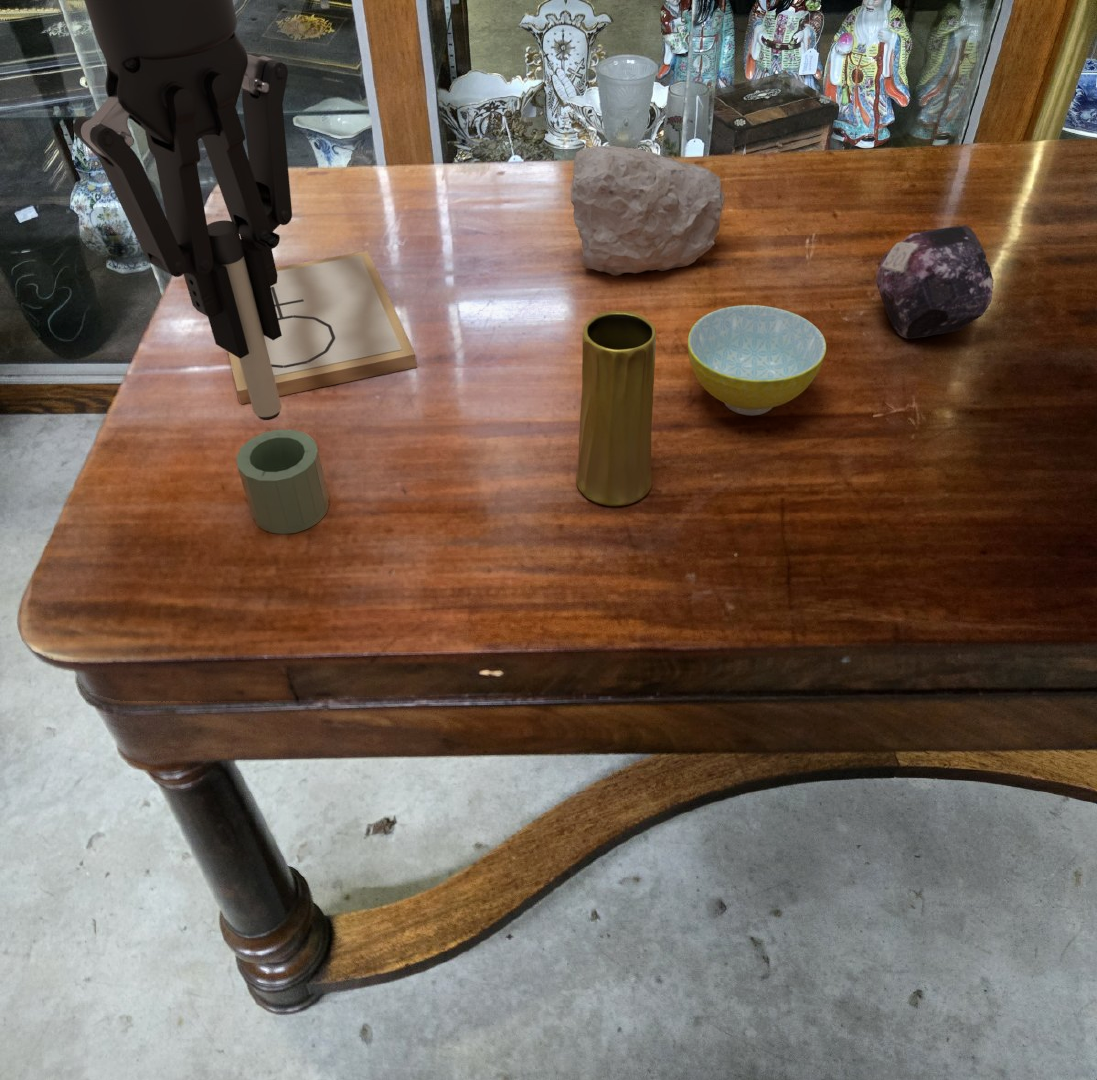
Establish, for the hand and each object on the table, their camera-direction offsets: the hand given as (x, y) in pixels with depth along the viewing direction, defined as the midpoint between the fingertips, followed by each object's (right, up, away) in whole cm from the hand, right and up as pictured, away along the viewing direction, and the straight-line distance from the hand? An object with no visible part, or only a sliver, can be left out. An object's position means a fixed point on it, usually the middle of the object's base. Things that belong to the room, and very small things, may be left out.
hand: (248, 339), depth 71 cm
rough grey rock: (+31, +15, +37) cm, 51 cm away
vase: (+26, -9, +13) cm, 30 cm away
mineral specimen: (+56, +7, +28) cm, 63 cm away
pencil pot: (0, -11, +11) cm, 16 cm away
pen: (0, -4, +4) cm, 6 cm away
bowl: (+38, -2, +20) cm, 43 cm away
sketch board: (-2, +7, +29) cm, 30 cm away
